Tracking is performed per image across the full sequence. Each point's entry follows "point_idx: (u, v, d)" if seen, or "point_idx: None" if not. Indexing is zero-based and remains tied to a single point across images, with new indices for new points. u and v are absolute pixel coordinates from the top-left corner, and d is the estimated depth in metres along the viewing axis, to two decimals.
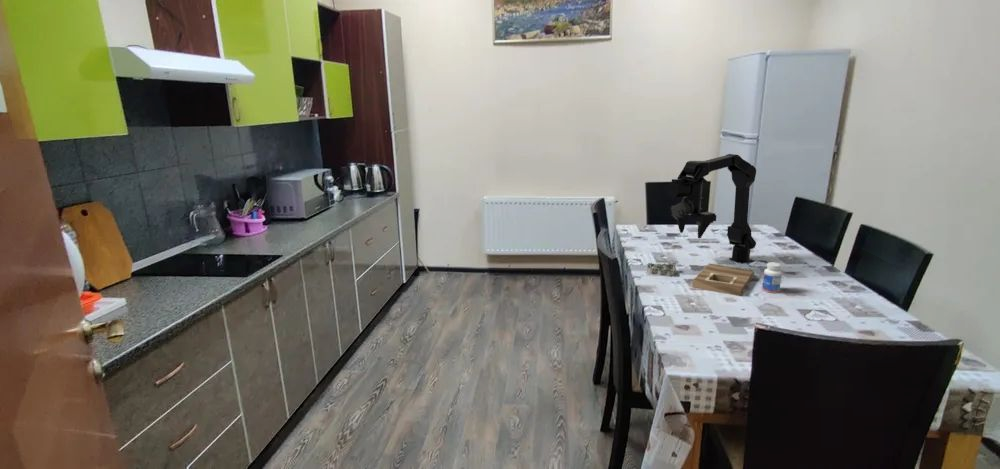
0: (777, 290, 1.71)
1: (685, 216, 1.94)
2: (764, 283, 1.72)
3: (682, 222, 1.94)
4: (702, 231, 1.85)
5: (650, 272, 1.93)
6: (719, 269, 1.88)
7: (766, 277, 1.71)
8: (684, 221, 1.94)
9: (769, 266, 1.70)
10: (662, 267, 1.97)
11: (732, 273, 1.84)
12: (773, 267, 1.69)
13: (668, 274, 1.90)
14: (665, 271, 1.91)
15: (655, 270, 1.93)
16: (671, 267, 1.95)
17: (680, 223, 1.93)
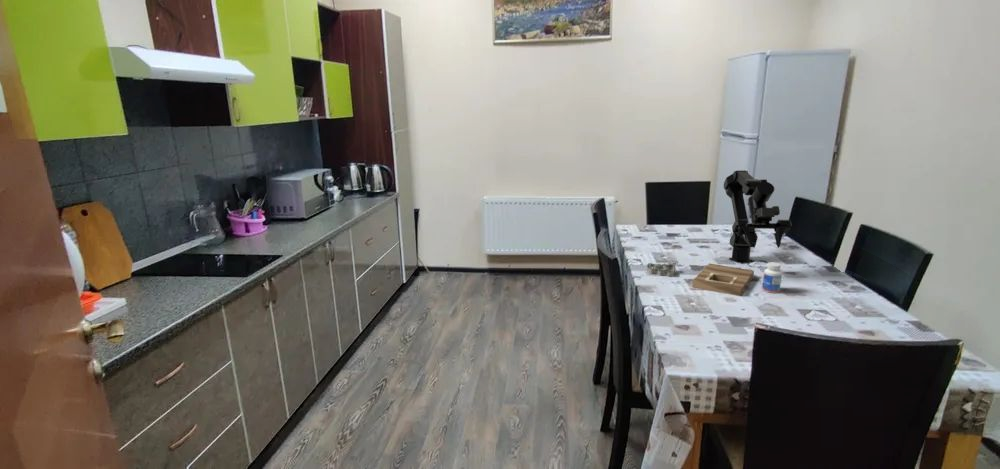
0: (777, 290, 1.71)
1: None
2: (764, 283, 1.72)
3: None
4: None
5: (650, 272, 1.92)
6: (719, 269, 1.88)
7: (766, 277, 1.71)
8: None
9: (769, 266, 1.70)
10: (662, 267, 1.97)
11: (732, 273, 1.84)
12: (773, 267, 1.69)
13: (668, 274, 1.89)
14: (665, 271, 1.91)
15: (655, 270, 1.93)
16: (671, 267, 1.95)
17: None
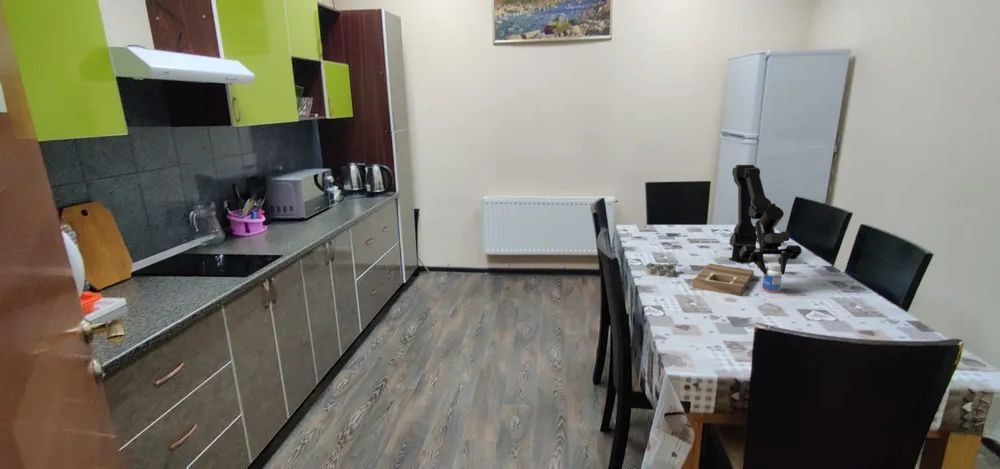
0: (777, 290, 1.71)
1: None
2: (764, 283, 1.72)
3: None
4: None
5: (649, 272, 1.93)
6: (719, 269, 1.88)
7: (766, 277, 1.71)
8: None
9: (769, 266, 1.70)
10: (663, 268, 1.96)
11: (732, 273, 1.84)
12: (773, 267, 1.69)
13: (666, 275, 1.89)
14: (664, 272, 1.90)
15: (654, 270, 1.92)
16: (672, 268, 1.94)
17: None
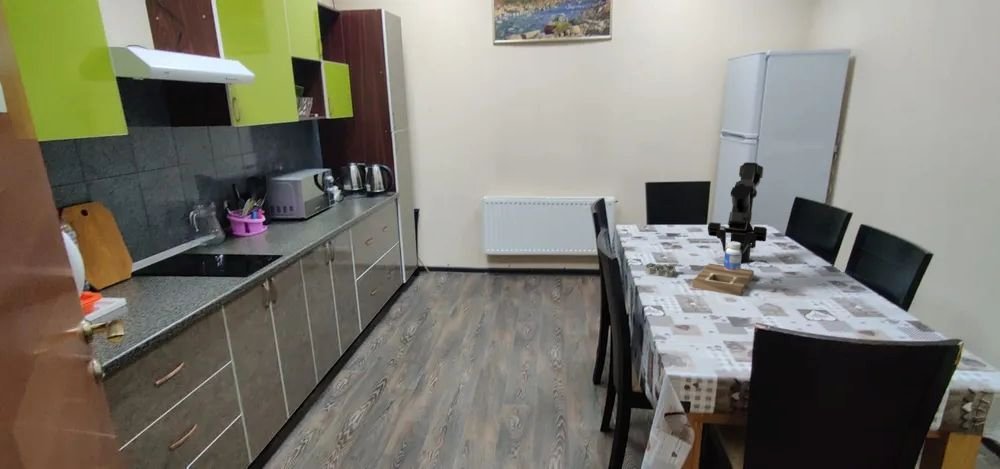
0: (735, 269, 1.73)
1: None
2: (724, 261, 1.76)
3: (725, 241, 1.76)
4: (746, 247, 1.73)
5: (648, 272, 1.93)
6: (719, 269, 1.88)
7: (725, 254, 1.75)
8: None
9: (728, 244, 1.74)
10: (663, 268, 1.96)
11: (732, 273, 1.84)
12: (731, 245, 1.72)
13: (665, 275, 1.89)
14: (663, 272, 1.90)
15: (654, 270, 1.92)
16: (672, 268, 1.94)
17: (725, 241, 1.76)
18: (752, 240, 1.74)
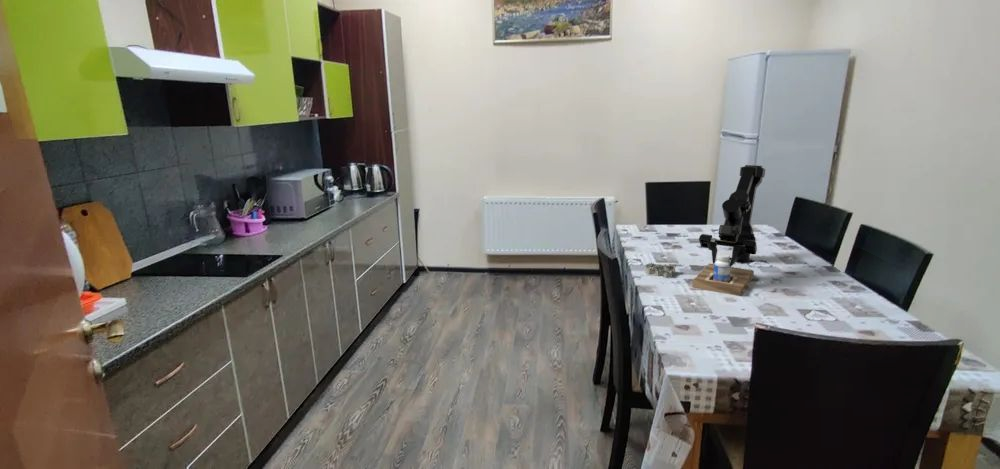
0: (723, 281, 1.76)
1: (716, 250, 1.82)
2: None
3: (715, 253, 1.80)
4: (735, 259, 1.75)
5: (648, 272, 1.93)
6: None
7: (714, 266, 1.78)
8: (716, 254, 1.81)
9: (717, 256, 1.77)
10: (663, 268, 1.96)
11: (732, 273, 1.84)
12: (719, 257, 1.76)
13: (665, 275, 1.89)
14: (663, 272, 1.90)
15: (653, 270, 1.92)
16: (672, 269, 1.93)
17: (715, 253, 1.79)
18: (742, 253, 1.77)
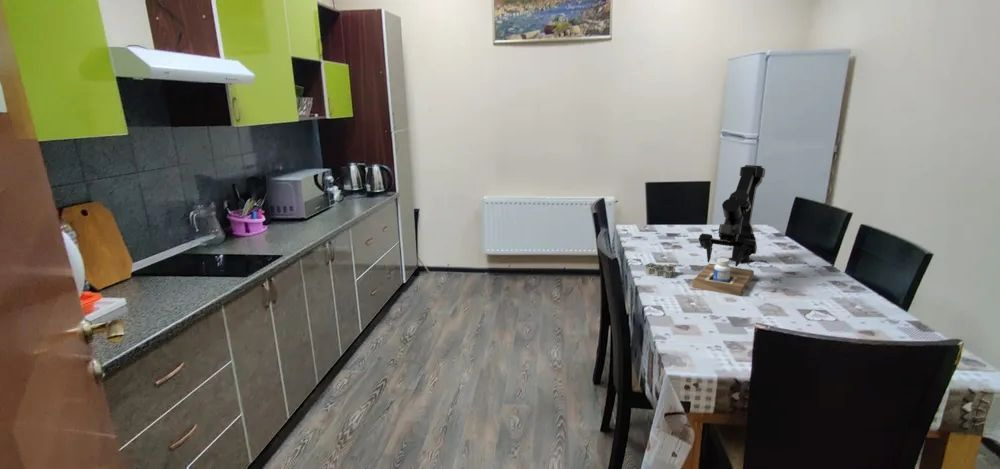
0: None
1: (711, 249, 1.83)
2: (713, 277, 1.80)
3: (710, 252, 1.80)
4: (740, 259, 1.74)
5: (647, 272, 1.93)
6: None
7: (714, 271, 1.78)
8: None
9: (717, 261, 1.77)
10: (663, 268, 1.95)
11: (732, 273, 1.84)
12: (719, 262, 1.76)
13: (664, 275, 1.89)
14: (662, 272, 1.90)
15: (653, 270, 1.92)
16: (672, 269, 1.93)
17: (710, 251, 1.80)
18: (747, 253, 1.75)
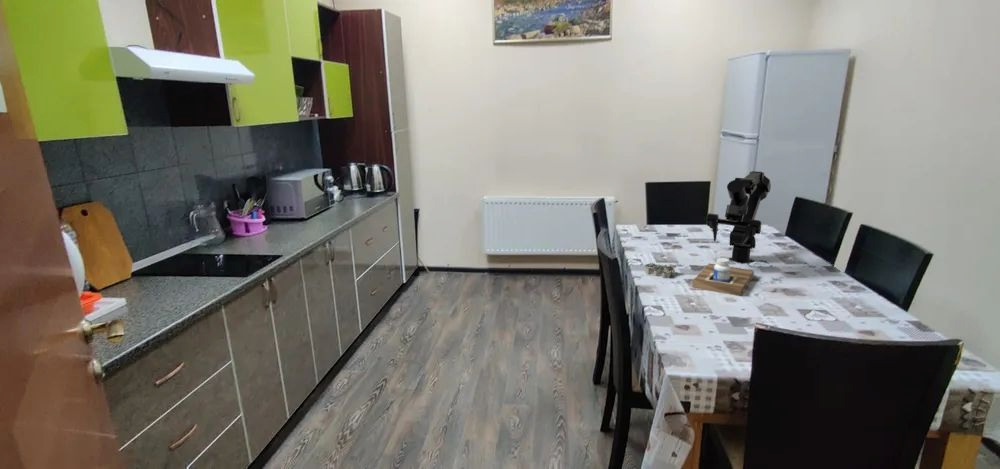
0: None
1: (717, 228, 1.90)
2: (713, 277, 1.80)
3: (716, 231, 1.87)
4: (745, 239, 1.82)
5: (647, 272, 1.93)
6: None
7: (714, 271, 1.78)
8: (716, 232, 1.88)
9: (717, 261, 1.77)
10: (664, 269, 1.95)
11: (732, 273, 1.84)
12: (719, 262, 1.76)
13: (663, 275, 1.88)
14: (661, 272, 1.90)
15: (652, 270, 1.92)
16: (672, 269, 1.92)
17: (716, 231, 1.87)
18: (752, 233, 1.83)
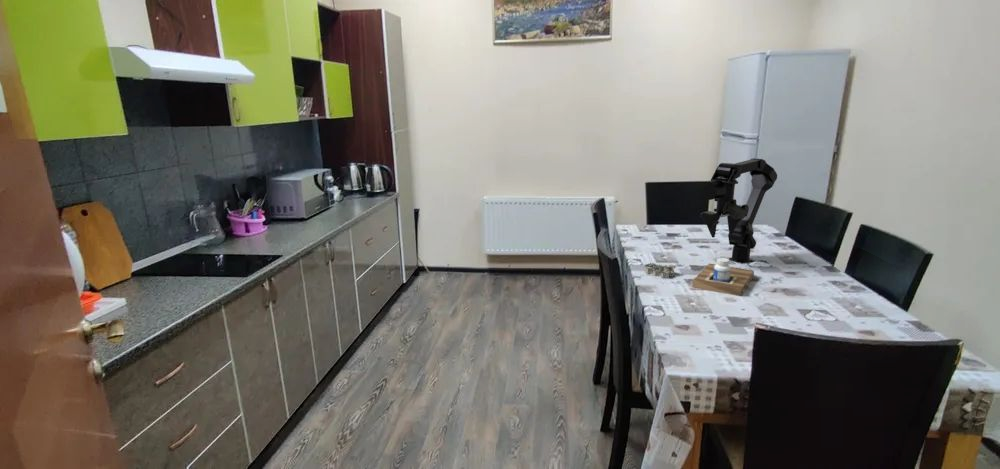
0: None
1: None
2: (713, 277, 1.80)
3: None
4: None
5: (646, 272, 1.93)
6: None
7: (714, 271, 1.78)
8: None
9: (717, 261, 1.77)
10: (664, 269, 1.95)
11: (732, 273, 1.84)
12: (719, 262, 1.76)
13: (661, 276, 1.88)
14: (660, 272, 1.90)
15: (652, 270, 1.93)
16: (672, 270, 1.92)
17: None
18: None
